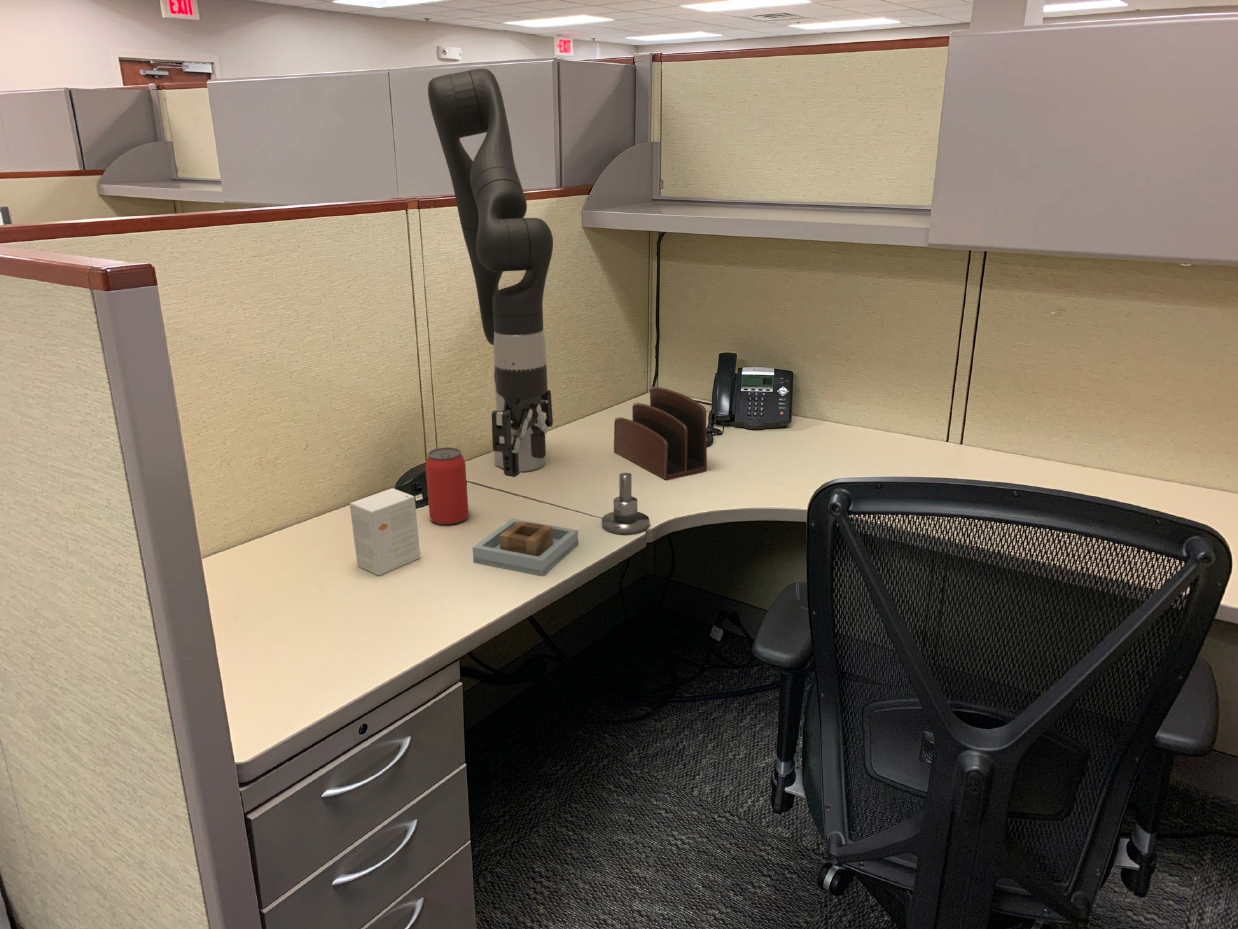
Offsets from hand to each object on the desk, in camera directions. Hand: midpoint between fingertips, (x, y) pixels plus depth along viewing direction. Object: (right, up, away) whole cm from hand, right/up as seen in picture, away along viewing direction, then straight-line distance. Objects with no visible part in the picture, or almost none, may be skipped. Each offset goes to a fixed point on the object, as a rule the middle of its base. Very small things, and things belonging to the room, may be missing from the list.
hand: (525, 466), depth 131 cm
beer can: (-15, -9, +18) cm, 25 cm away
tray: (0, -14, +5) cm, 14 cm away
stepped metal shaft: (+15, -10, +15) cm, 23 cm away
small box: (-21, -15, +2) cm, 26 cm away
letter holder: (+22, 0, +45) cm, 50 cm away
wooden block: (0, -13, +4) cm, 14 cm away
